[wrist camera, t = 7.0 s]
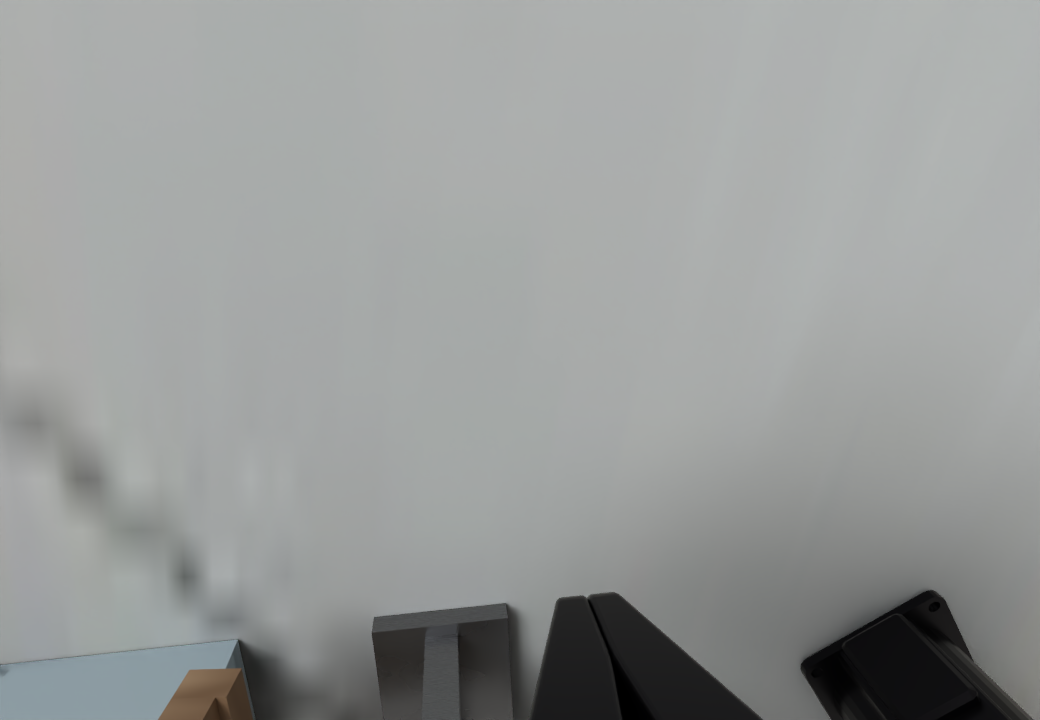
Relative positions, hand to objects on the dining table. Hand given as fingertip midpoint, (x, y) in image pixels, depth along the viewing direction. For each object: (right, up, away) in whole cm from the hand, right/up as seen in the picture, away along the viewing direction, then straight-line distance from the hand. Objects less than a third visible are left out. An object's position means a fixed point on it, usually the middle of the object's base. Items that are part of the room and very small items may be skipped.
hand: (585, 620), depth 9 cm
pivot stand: (-4, -10, +17) cm, 20 cm away
